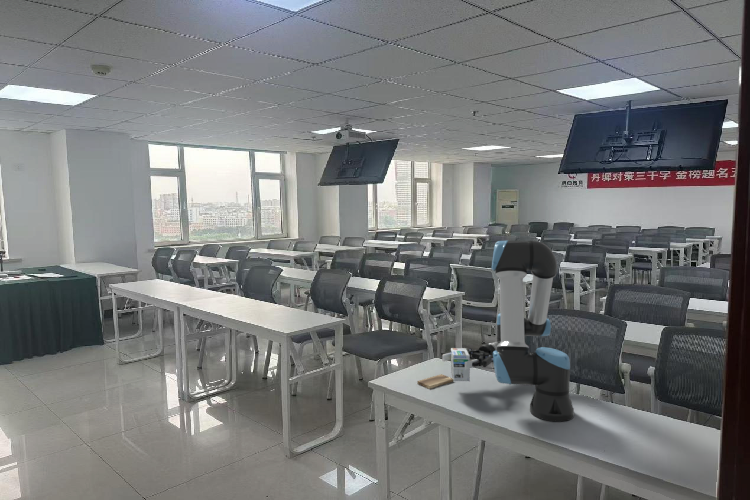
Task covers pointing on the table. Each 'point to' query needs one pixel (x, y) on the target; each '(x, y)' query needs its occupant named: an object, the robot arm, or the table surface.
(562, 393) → the robot arm
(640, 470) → the table surface
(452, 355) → the light bulb box
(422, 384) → the subfloor panel
